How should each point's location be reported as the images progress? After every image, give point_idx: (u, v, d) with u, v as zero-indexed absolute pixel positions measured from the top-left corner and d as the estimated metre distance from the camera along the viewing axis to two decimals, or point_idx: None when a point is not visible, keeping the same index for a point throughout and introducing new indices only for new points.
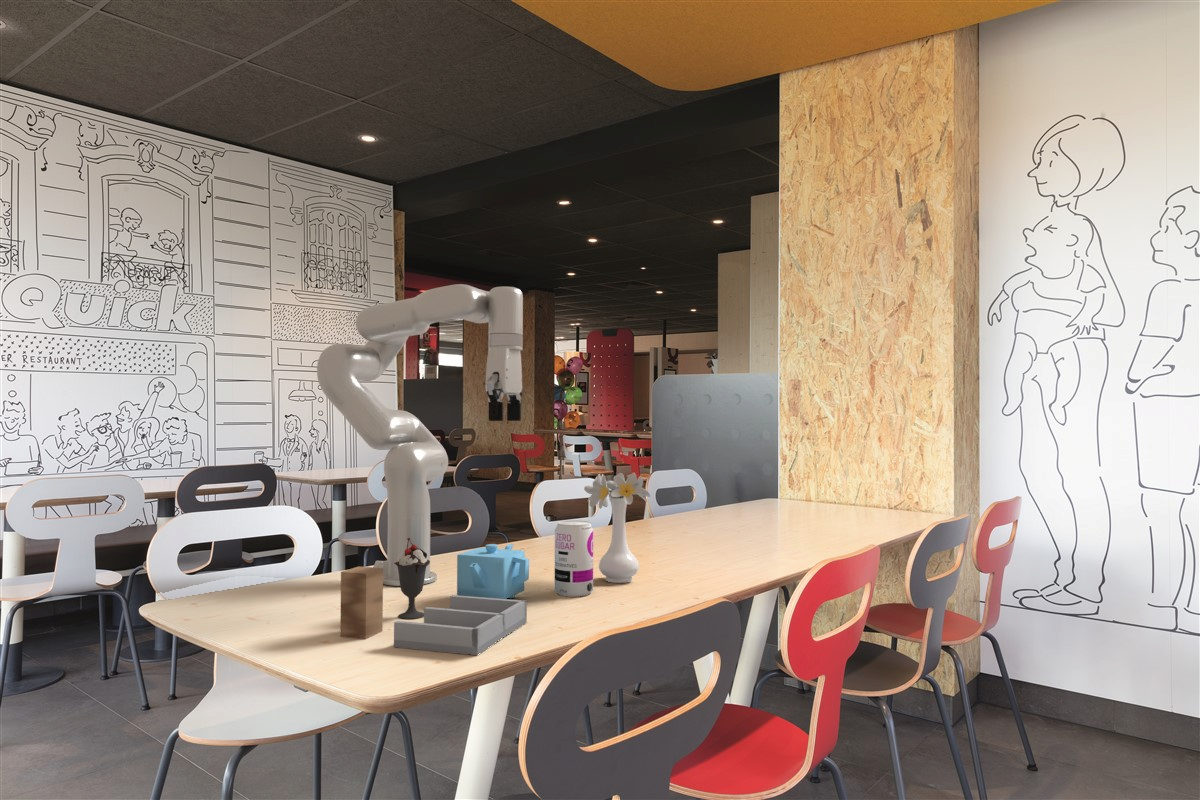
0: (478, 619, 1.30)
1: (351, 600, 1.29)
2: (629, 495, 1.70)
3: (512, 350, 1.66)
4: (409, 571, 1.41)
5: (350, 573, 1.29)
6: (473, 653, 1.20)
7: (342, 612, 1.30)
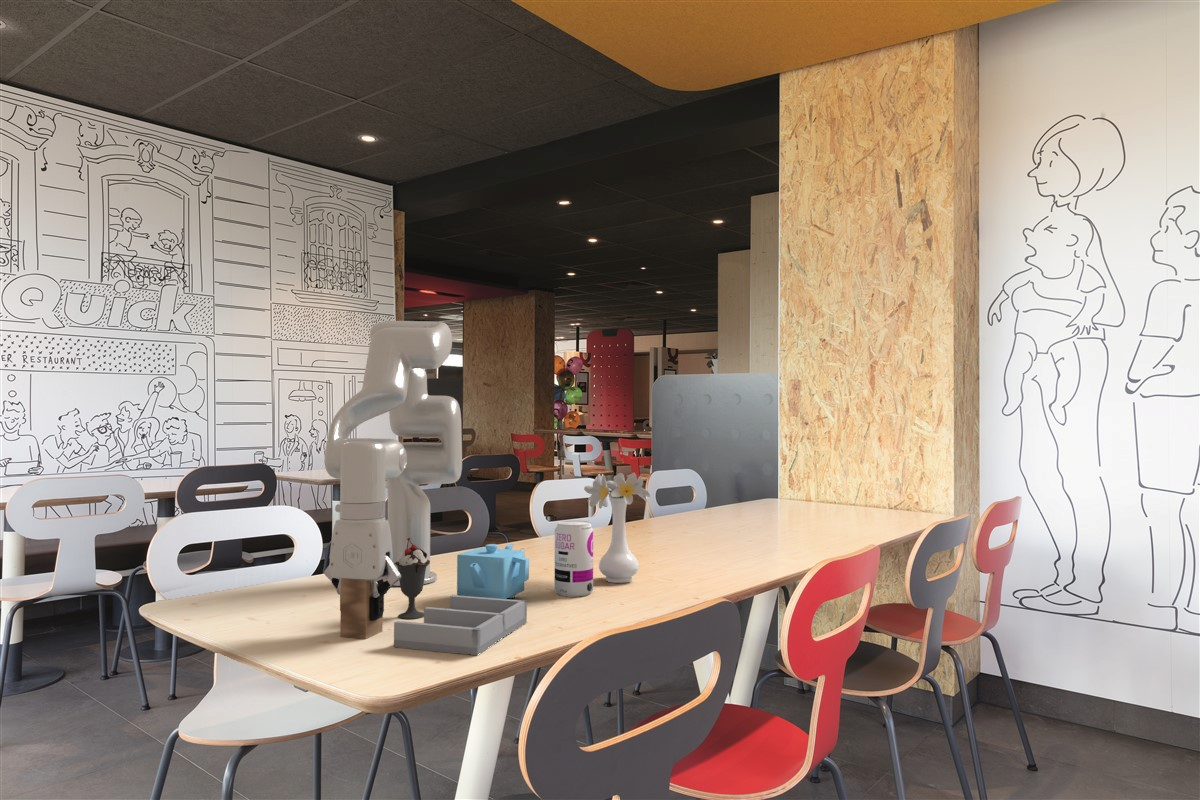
0: (478, 619, 1.30)
1: (351, 600, 1.29)
2: (629, 495, 1.70)
3: None
4: (409, 571, 1.41)
5: None
6: (473, 653, 1.20)
7: (342, 612, 1.30)
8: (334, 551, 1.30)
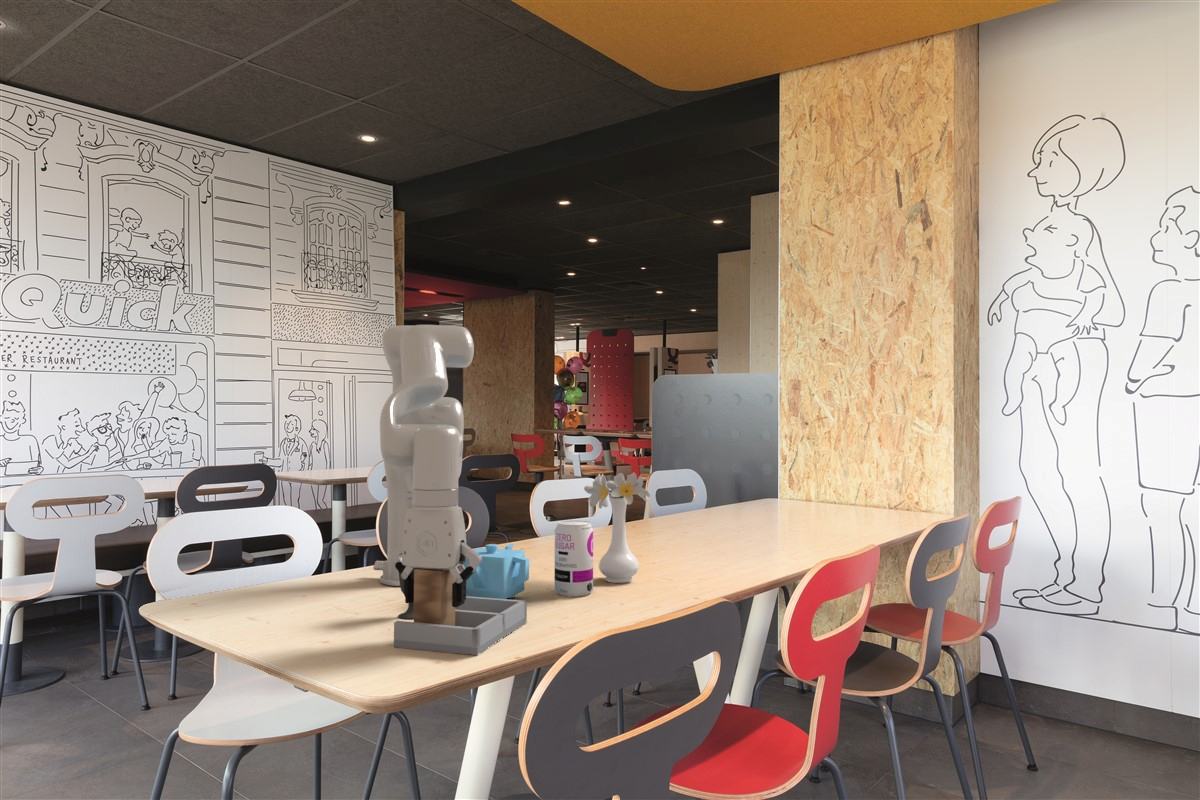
0: (478, 619, 1.30)
1: (425, 598, 1.25)
2: (629, 495, 1.70)
3: None
4: None
5: (424, 570, 1.26)
6: (473, 653, 1.20)
7: (415, 611, 1.26)
8: (407, 539, 1.26)
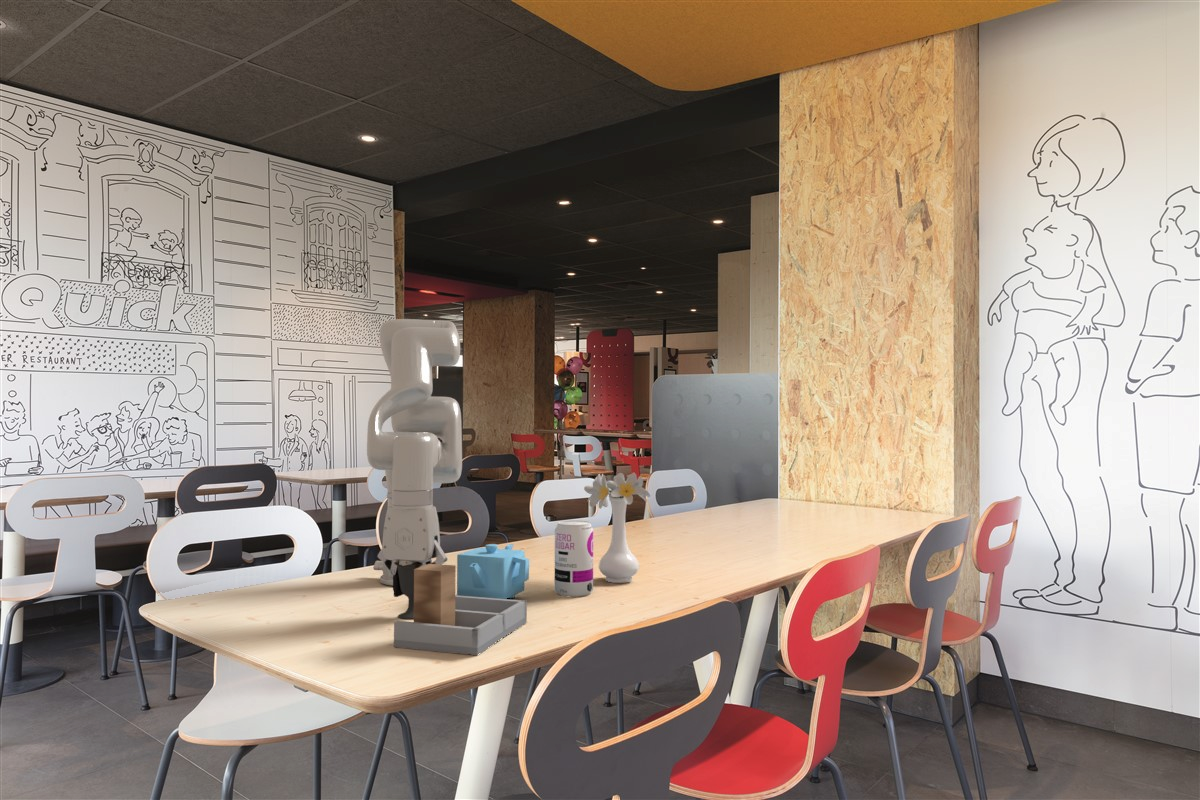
0: (478, 619, 1.30)
1: (425, 598, 1.25)
2: (629, 495, 1.70)
3: None
4: (409, 571, 1.41)
5: (424, 570, 1.26)
6: (473, 653, 1.20)
7: (415, 611, 1.26)
8: (387, 535, 1.42)
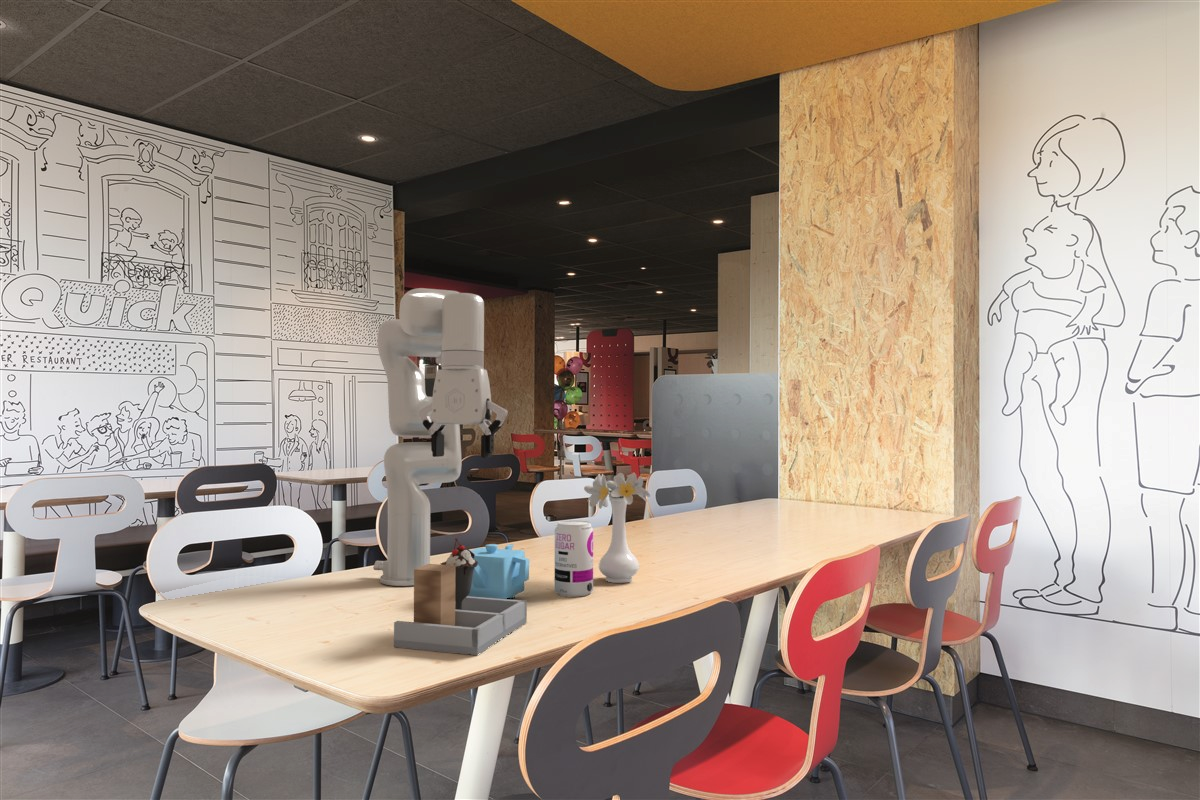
0: (478, 619, 1.30)
1: (425, 598, 1.25)
2: (629, 495, 1.70)
3: None
4: (457, 573, 1.33)
5: (424, 570, 1.26)
6: (473, 653, 1.20)
7: (415, 611, 1.26)
8: (436, 398, 1.36)
